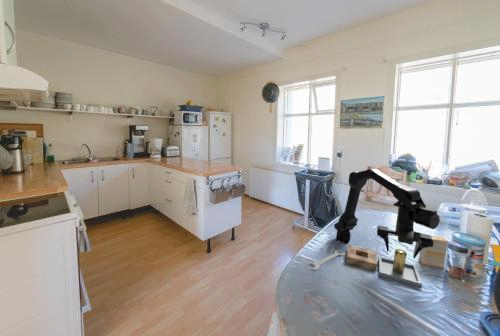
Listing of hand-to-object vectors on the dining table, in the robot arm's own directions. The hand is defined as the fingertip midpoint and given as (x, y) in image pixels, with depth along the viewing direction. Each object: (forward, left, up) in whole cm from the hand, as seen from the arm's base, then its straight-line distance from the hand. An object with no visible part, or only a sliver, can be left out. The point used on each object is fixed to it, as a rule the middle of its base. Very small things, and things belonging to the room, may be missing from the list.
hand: (400, 254), depth 92 cm
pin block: (-14, +3, -8) cm, 17 cm away
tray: (0, 0, -8) cm, 8 cm away
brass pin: (0, 0, -8) cm, 8 cm away
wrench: (-28, -5, -9) cm, 30 cm away
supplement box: (+14, +16, -9) cm, 23 cm away
